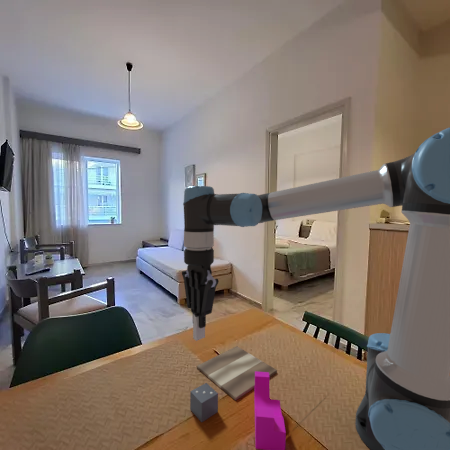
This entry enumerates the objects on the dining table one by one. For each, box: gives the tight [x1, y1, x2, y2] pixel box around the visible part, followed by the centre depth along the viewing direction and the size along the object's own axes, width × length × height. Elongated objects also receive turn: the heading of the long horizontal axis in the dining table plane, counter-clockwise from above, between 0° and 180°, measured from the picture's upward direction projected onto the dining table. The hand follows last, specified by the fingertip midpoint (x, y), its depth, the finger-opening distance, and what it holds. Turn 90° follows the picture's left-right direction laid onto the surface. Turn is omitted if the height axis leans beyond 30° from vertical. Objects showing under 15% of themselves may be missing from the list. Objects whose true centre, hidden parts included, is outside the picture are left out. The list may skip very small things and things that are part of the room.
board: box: [196, 345, 278, 401], centre depth 80 cm, size 18×18×1 cm
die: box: [189, 382, 219, 423], centre depth 64 cm, size 5×5×5 cm
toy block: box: [253, 371, 287, 450], centre depth 61 cm, size 15×6×8 cm, turn 174°
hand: (199, 337), depth 66 cm, fingers closed
